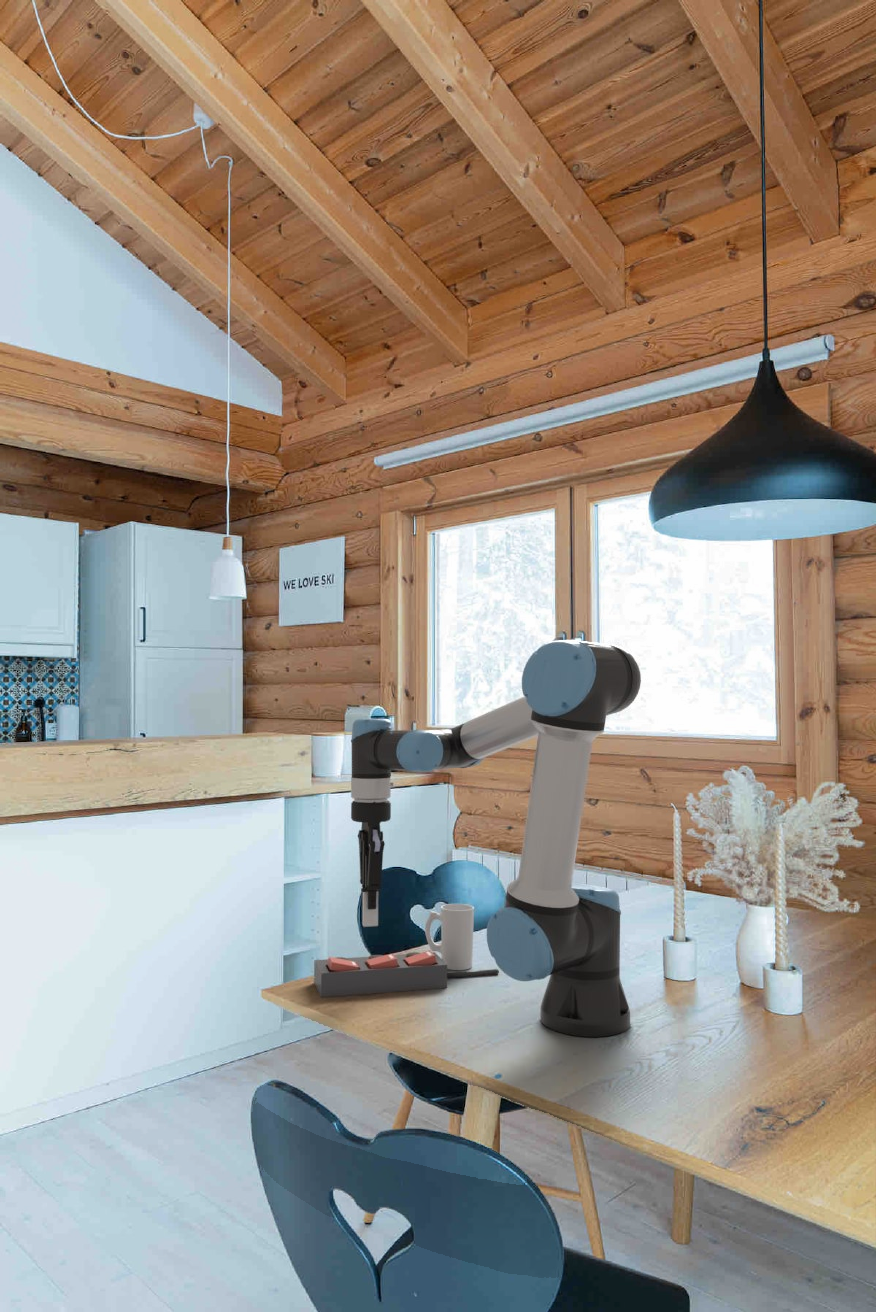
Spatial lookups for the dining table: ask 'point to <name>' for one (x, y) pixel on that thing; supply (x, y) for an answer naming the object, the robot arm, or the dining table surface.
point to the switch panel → (385, 977)
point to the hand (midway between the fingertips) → (370, 925)
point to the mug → (454, 935)
